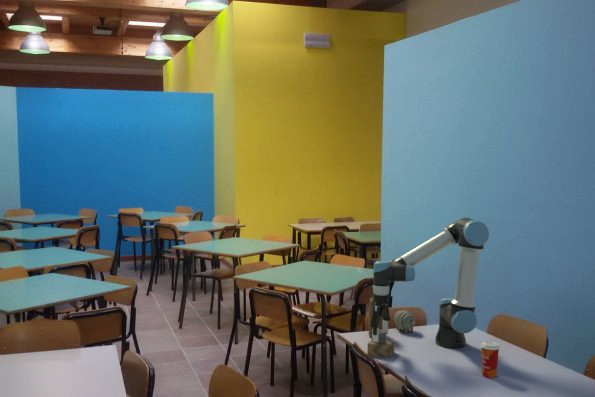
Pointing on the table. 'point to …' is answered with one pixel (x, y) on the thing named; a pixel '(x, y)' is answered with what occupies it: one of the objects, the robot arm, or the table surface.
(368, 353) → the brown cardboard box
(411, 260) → the robot arm
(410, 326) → the cream beehive honey pot
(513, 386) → the table surface
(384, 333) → the dice cube
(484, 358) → the paper cup
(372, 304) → the brown oblong lump
